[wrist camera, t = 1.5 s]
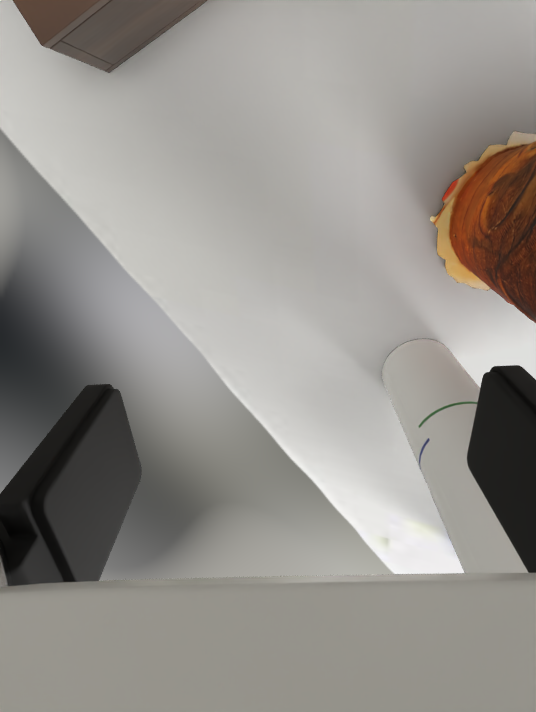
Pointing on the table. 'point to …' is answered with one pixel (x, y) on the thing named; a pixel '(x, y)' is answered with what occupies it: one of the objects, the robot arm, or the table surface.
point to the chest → (122, 30)
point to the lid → (56, 16)
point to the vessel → (494, 223)
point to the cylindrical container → (447, 449)
